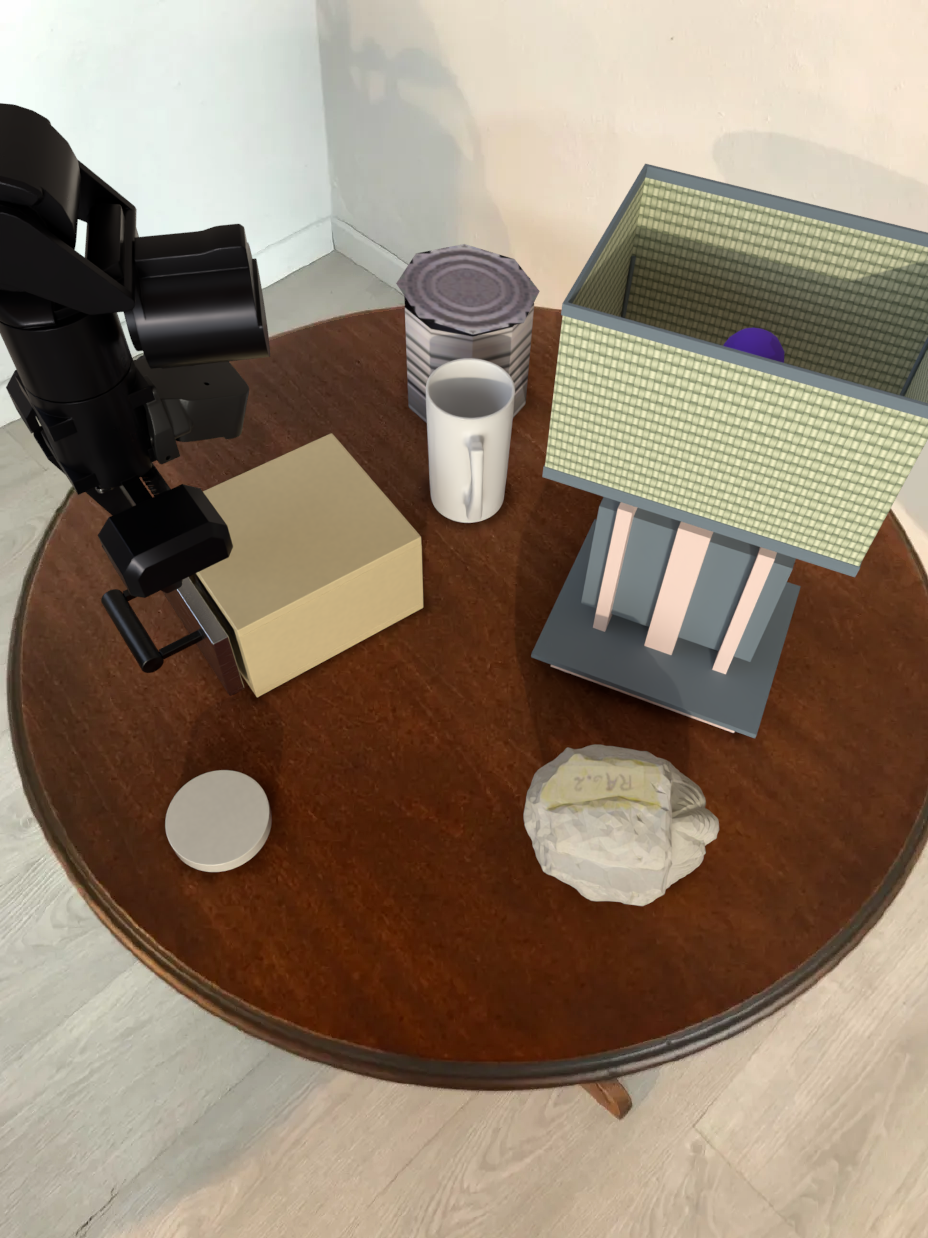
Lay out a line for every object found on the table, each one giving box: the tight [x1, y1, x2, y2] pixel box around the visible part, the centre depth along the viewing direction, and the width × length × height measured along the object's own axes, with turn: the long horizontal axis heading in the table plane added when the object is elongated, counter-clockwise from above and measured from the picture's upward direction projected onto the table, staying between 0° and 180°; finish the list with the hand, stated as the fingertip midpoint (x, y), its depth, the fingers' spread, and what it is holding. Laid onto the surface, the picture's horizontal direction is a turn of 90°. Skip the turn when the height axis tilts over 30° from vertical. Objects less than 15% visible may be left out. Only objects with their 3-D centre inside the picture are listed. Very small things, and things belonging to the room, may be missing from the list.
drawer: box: [100, 573, 245, 697], centre depth 75 cm, size 18×11×7 cm, turn 125°
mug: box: [426, 358, 515, 524], centre depth 80 cm, size 10×7×12 cm, turn 5°
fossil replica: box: [523, 743, 720, 907], centre depth 65 cm, size 12×8×10 cm
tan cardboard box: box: [189, 432, 424, 698], centre depth 76 cm, size 15×13×9 cm
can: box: [395, 243, 540, 424], centre depth 89 cm, size 11×11×12 cm
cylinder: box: [164, 769, 273, 873], centre depth 68 cm, size 7×7×2 cm
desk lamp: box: [530, 163, 928, 739], centre depth 65 cm, size 18×14×33 cm
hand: (149, 552), depth 66 cm, fingers open, 7 cm apart
